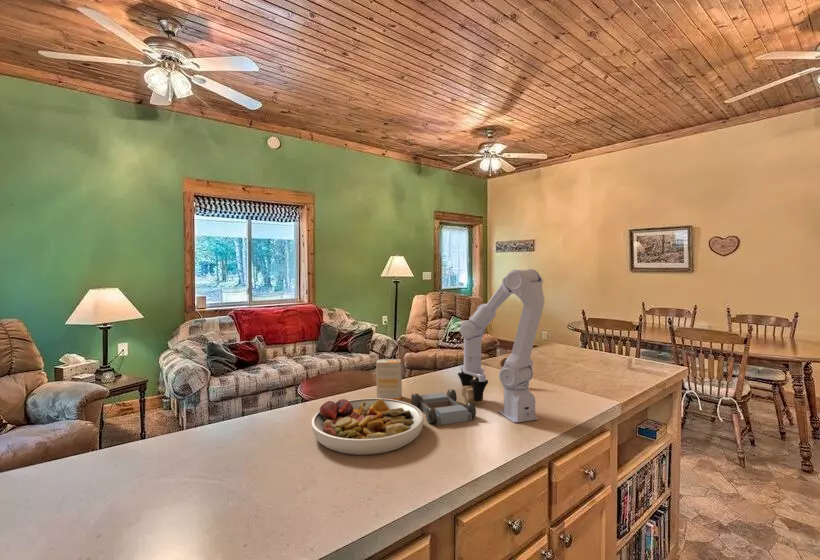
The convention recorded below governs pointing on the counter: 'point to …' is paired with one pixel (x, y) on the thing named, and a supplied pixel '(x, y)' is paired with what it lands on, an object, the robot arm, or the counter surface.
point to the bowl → (366, 425)
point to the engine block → (469, 395)
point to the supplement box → (389, 379)
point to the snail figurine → (503, 362)
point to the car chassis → (443, 408)
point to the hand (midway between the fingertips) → (472, 397)
